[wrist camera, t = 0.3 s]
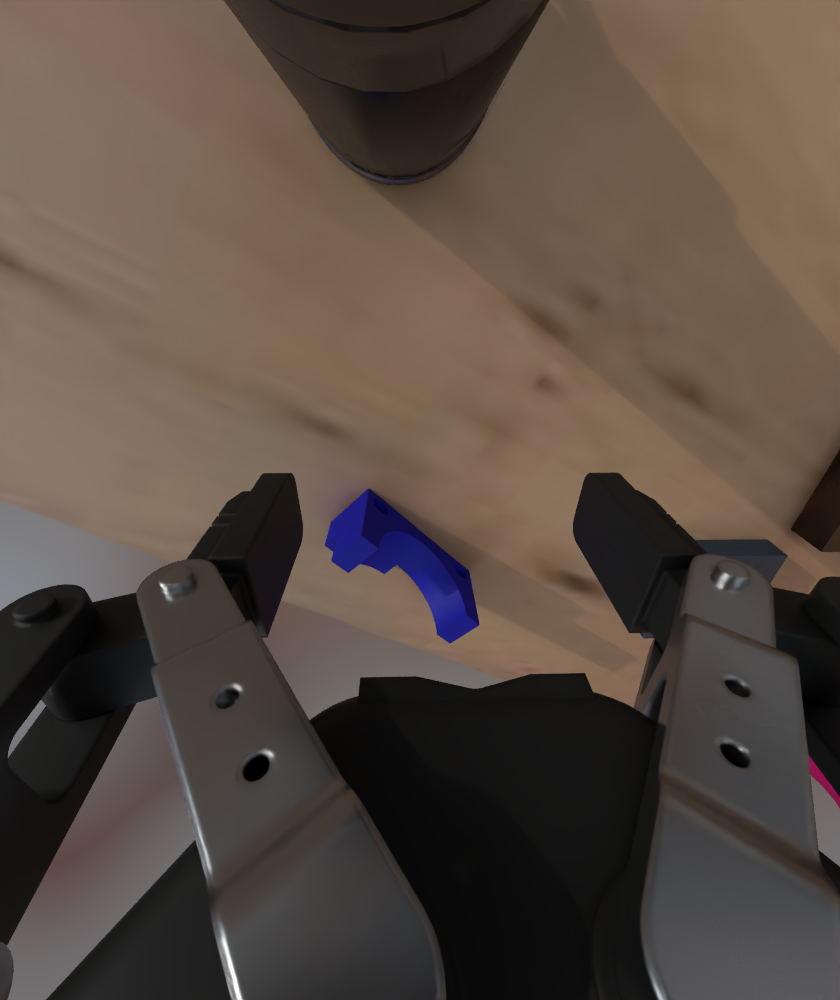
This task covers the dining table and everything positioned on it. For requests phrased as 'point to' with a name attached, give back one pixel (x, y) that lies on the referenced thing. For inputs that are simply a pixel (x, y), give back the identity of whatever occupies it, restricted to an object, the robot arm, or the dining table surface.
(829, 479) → the switch base
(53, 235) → the dining table surface
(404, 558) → the blue notched block
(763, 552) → the button box
